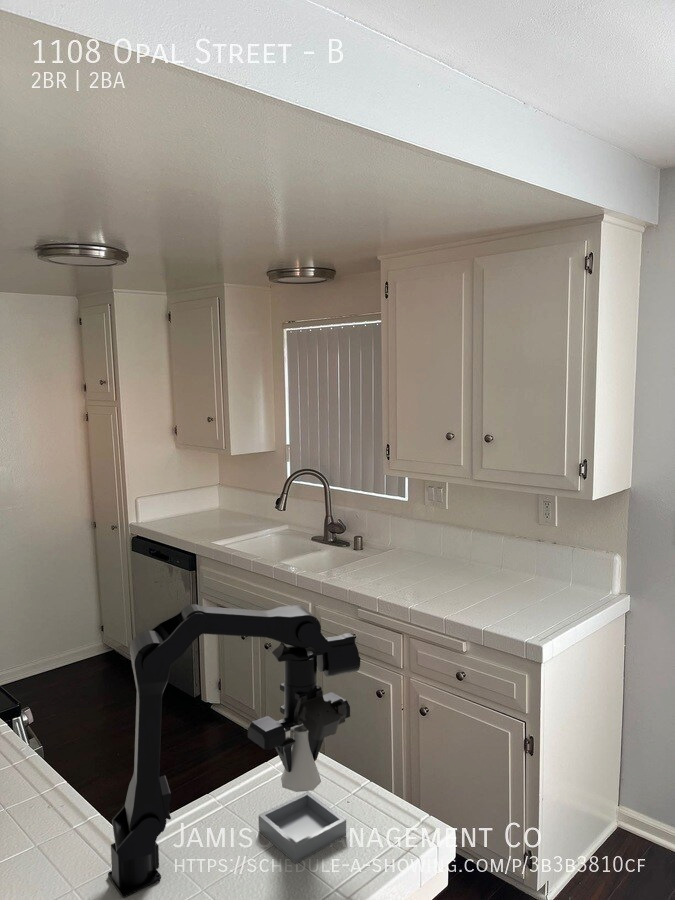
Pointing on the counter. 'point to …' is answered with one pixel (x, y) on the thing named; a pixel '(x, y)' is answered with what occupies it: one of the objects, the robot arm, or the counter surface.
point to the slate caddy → (302, 826)
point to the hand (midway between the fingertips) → (301, 765)
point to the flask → (301, 764)
